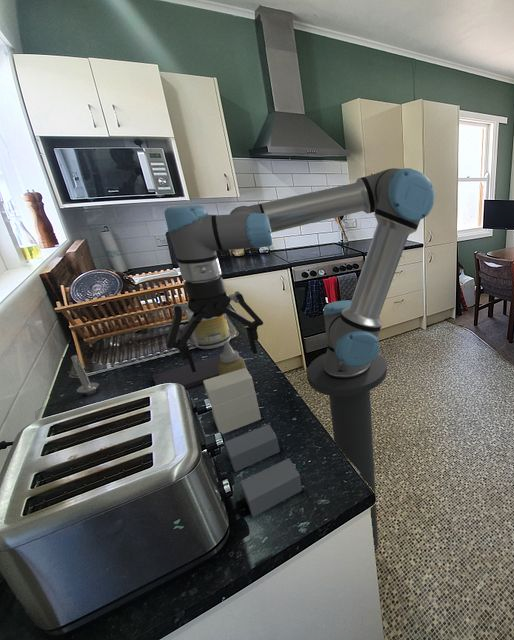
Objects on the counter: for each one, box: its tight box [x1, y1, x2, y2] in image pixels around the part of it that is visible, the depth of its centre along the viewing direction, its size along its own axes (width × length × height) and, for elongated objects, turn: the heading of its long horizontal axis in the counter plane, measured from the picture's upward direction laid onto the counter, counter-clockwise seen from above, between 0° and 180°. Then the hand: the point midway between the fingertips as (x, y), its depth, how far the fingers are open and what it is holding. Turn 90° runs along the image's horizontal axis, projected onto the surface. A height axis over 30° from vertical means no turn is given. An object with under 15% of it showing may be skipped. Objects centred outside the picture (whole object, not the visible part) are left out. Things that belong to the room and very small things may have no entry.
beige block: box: [207, 391, 259, 421], centre depth 91 cm, size 10×6×4 cm, turn 130°
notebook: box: [152, 354, 221, 390], centre depth 112 cm, size 13×2×21 cm
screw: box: [70, 355, 100, 397], centre depth 100 cm, size 13×5×5 cm
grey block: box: [224, 423, 281, 473], centre depth 82 cm, size 10×6×4 cm, turn 130°
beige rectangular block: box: [211, 405, 262, 435], centre depth 92 cm, size 10×6×4 cm, turn 130°
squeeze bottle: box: [218, 341, 249, 376], centre depth 100 cm, size 8×8×18 cm
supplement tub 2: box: [185, 302, 232, 350], centre depth 130 cm, size 12×12×17 cm
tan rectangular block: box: [203, 367, 256, 406], centre depth 89 cm, size 10×6×4 cm, turn 130°
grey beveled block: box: [240, 457, 303, 518], centre depth 72 cm, size 10×6×4 cm, turn 130°
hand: (225, 360), depth 86 cm, fingers open, 13 cm apart
